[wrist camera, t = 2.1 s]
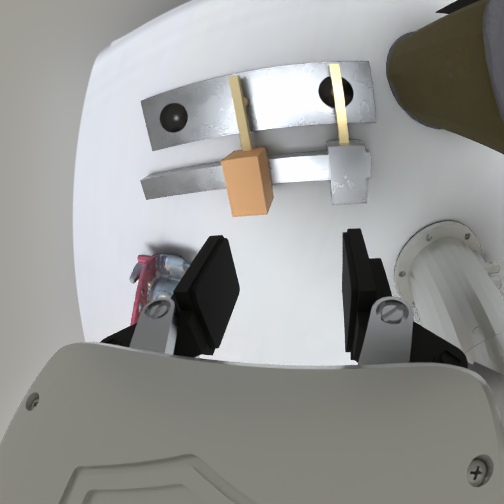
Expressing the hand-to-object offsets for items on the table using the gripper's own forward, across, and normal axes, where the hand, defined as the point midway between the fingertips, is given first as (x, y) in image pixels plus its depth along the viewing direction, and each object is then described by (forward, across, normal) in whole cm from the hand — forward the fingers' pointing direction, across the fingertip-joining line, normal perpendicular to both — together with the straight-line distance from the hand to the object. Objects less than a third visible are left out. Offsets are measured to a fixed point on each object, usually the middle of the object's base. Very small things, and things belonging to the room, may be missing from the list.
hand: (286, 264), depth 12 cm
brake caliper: (+18, +19, +13) cm, 29 cm away
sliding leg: (+16, +4, -3) cm, 17 cm away
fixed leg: (+16, -4, -4) cm, 17 cm away
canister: (+18, -14, -9) cm, 25 cm away
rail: (+17, +6, 0) cm, 18 cm away
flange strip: (+17, +4, -7) cm, 19 cm away
